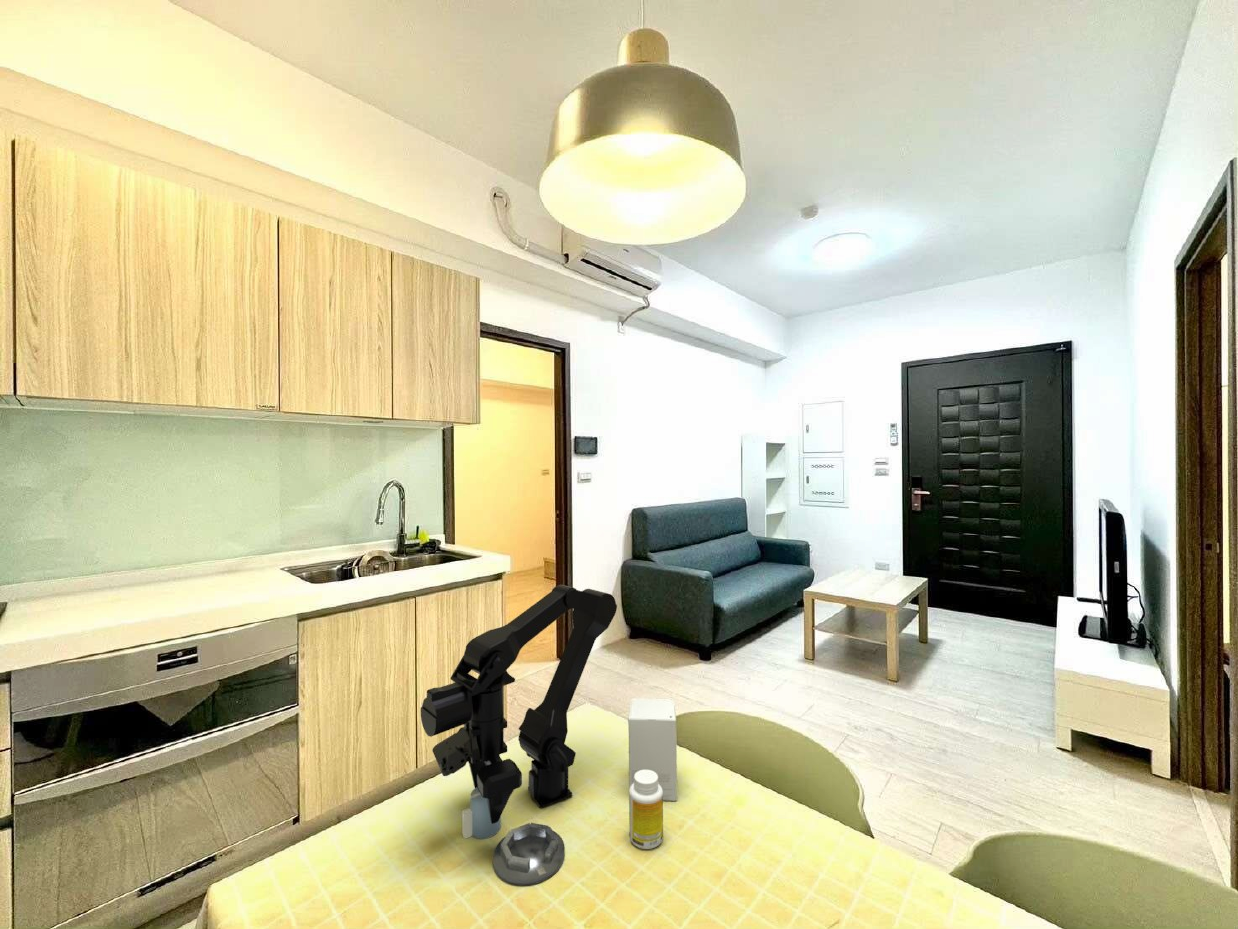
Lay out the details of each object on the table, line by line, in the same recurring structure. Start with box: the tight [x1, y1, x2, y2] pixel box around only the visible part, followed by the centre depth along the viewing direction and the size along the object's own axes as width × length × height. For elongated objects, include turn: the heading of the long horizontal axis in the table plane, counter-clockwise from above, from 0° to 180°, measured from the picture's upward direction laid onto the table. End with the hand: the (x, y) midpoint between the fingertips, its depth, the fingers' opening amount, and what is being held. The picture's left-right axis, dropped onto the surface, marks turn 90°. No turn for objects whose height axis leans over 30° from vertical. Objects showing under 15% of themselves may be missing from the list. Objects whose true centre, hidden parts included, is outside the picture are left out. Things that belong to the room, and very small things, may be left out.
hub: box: [492, 822, 566, 887], centre depth 80 cm, size 11×11×2 cm
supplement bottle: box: [628, 770, 664, 850], centre depth 84 cm, size 6×6×10 cm
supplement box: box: [627, 697, 678, 802], centre depth 98 cm, size 9×9×15 cm
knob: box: [461, 787, 502, 840], centre depth 86 cm, size 6×5×6 cm
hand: (486, 806), depth 86 cm, fingers open, 9 cm apart
